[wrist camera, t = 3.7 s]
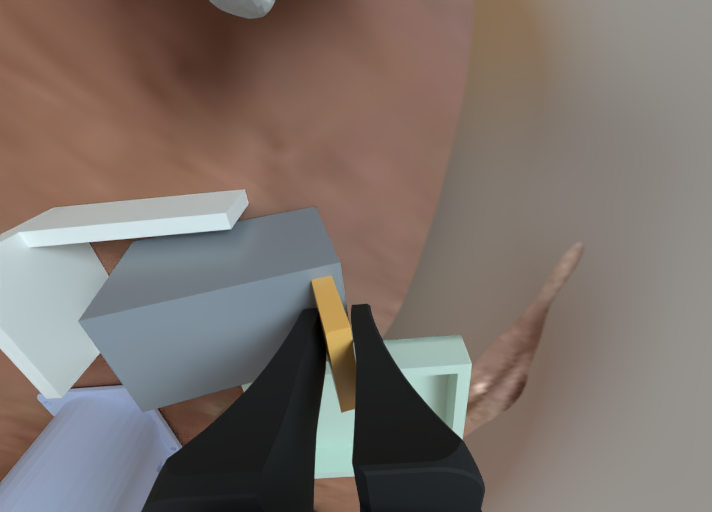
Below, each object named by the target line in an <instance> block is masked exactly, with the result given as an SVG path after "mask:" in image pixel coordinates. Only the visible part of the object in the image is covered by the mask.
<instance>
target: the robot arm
mask: <svg viewBox="0 0 712 512" xmlns="http://www.w3.org/2000/svg"><path fill="white" fill-rule="evenodd" d="M351 323H352V331H353V339H354V347H355V355H356V393H355V419H354V438H353V453H352V465H353V471H354V476H355V481H356V486H357V491H358V496H359V501H360V512H482V511H481V506H482V502H483V497H484V493H485V487H484V482H483V479H482V476H481V474H480V472H479V469H478V467H477V465H476V463H475V461H474V459H473V457H472V455H471V453H470V452H469V450H468V448H467V446H466V444H465V443H464V441H463V440H462V439H461V438H460V437H459V436H458V435H457V434H456V433H455V432H454V431H453V430H452V429H451V428H450V427H449V426H448V425H447V424H446V423H444V422H443V421H442V420H441V418H440V417H439V416H438V415H437V414H436V413H435V412H434V411H433V410H432V409H431V408H430V407H429V406H428V404H427V403H426V402H425V401H424V400H423V399H422V397H421V396H420V395H419V394H418V393H417V392H416V390H415V389H414V388H413V387H412V385H411V384H410V383H409V381H408V380H407V379H406V377H405V376H404V374H403V373H402V372H401V370H400V369H399V367H398V366H397V364H396V363H395V361H394V359H393V358H392V356H391V354H390V353H389V351H388V349H387V347H386V346H385V344H384V342H383V340H382V338H381V336H380V334H379V332H378V329H377V327H376V325H375V322H374V319H373V316H372V313H371V308H370V305H368V304H359V305H352V308H351ZM325 372H326V346H325V341H324V337H323V332H322V327H321V322H320V317H319V312H318V308H310V309H304V310H303V311H302V312H301V314H300V315H299V317H298V319H297V321H296V323H295V324H294V326H293V328H292V329H291V331H290V333H289V334H288V336H287V337H286V339H285V340H284V342H283V343H282V345H281V346H280V348H279V349H278V351H277V352H276V354H275V355H274V356H273V358H272V359H271V360H270V362H269V363H268V364H267V366H266V367H265V368H264V370H263V371H262V372H261V373H260V375H259V376H258V377H257V378H256V379H255V381H254V382H253V383H252V384H251V385H250V386H249V387H248V389H247V390H246V391H245V392H244V393H243V394H242V395H241V396H240V397H239V398H238V399H237V400H236V401H235V402H234V403H233V404H232V405H231V406H230V407H229V408H228V409H227V410H226V411H225V412H224V413H223V414H222V415H221V416H219V417H218V418H217V419H216V420H215V421H214V422H213V423H212V424H211V425H209V426H208V427H207V428H206V429H205V430H204V431H202V432H201V433H200V434H199V435H198V436H196V437H195V438H194V439H192V440H191V441H190V442H188V443H187V444H186V445H185V446H183V447H182V445H181V444H180V442H179V441H178V439H177V438H176V436H175V435H174V433H173V432H172V430H171V429H170V427H169V426H168V424H167V423H166V421H165V420H164V418H163V416H162V415H161V413H160V412H159V410H158V409H153V410H150V411H146V412H142V411H141V410H140V408H139V407H138V405H137V404H136V403H135V401H134V400H133V398H132V397H131V395H130V394H129V393H128V391H127V390H126V388H125V387H124V386H123V385H116V386H102V387H88V388H75V389H69V390H68V391H67V393H66V394H65V395H64V396H63V397H62V398H52V399H46V398H45V397H44V396H43V394H42V393H41V392H40V393H39V394H38V395H37V399H38V400H39V401H40V402H41V403H42V404H43V405H44V406H45V408H46V409H47V410H48V411H49V412H50V413H51V414H52V415H53V416H54V418H53V419H52V420H51V421H50V423H49V424H48V425H47V426H46V428H45V429H44V430H43V431H42V432H41V434H40V435H39V436H38V437H37V438H36V440H35V441H34V442H33V443H32V445H31V446H30V447H29V448H28V449H27V451H26V452H25V453H24V454H23V455H22V457H21V458H20V459H19V460H18V461H17V463H16V464H15V465H14V466H13V468H12V469H11V470H10V471H9V472H8V474H7V475H6V476H5V477H4V478H3V480H2V481H1V482H0V512H313V504H314V477H315V455H316V437H317V427H318V419H319V412H320V406H321V399H322V392H323V386H324V379H325Z"/></svg>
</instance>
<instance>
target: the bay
mask: <svg viewBox="0 0 712 512" xmlns="http://www.w3.org/2000/svg"><path fill="white" fill-rule="evenodd" d="M248 204H249V202H248V199H247V195H246V192H245V189H242V190H232V191H221V192H211V193H200V194H190V195H180V196H169V197H159V198H148V199H138V200H127V201H117V202H107V203H96V204H86V205H75V206H65V207H55V208H52V209H50V210H48V211H46V212H44V213H42V214H40V215H38V216H36V217H34V218H32V219H30V220H28V221H26V222H24V223H22V224H20V225H18V226H16V227H14V228H12V229H10V230H8V231H6V232H4V233H2V234H0V349H1V350H2V351H3V352H4V353H5V354H6V355H7V356H8V357H9V358H10V359H11V361H12V362H13V363H14V364H15V365H16V366H17V367H18V368H19V369H20V370H21V371H22V373H23V374H24V375H25V376H26V377H27V378H28V379H29V380H30V381H31V382H32V384H33V385H34V386H35V387H36V388H37V389H38V390H39V391H40V392H41V393H42V394H43V396H44V397H45V398H46V399H52V398H62V397H63V396H64V395H65V394H66V393H67V391H68V390H69V389H70V388H71V387H72V386H73V384H74V383H75V382H76V381H77V380H78V379H79V377H80V376H81V375H82V374H83V373H84V371H85V370H86V369H87V368H88V367H89V366H90V364H91V363H92V362H93V361H94V360H95V358H96V357H97V356H98V355H99V354H100V352H99V350H98V349H97V347H96V346H95V345H94V343H93V342H92V340H91V339H90V338H89V336H88V335H87V333H86V332H85V331H84V329H83V328H82V326H81V325H80V323H79V322H78V320H79V319H80V317H81V316H82V315H83V313H84V312H85V310H86V309H87V307H88V306H89V305H90V303H91V302H92V300H93V299H94V297H95V296H96V294H97V293H98V292H99V290H100V289H101V287H102V286H103V284H104V283H105V281H106V280H107V279H108V277H109V276H108V274H107V272H106V271H105V269H104V267H103V266H102V264H101V262H100V260H99V259H98V257H97V255H96V254H95V252H94V250H93V248H92V247H91V245H90V243H89V242H96V241H107V240H118V239H129V238H140V237H151V236H162V235H173V234H184V233H195V232H206V231H217V230H228V229H232V227H233V226H234V224H235V223H236V221H237V220H238V219H239V217H240V216H241V214H242V213H243V211H244V210H245V209H246V207H247V206H248Z"/></svg>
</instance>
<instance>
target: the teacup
mask: <svg viewBox="0 0 712 512" xmlns="http://www.w3.org/2000/svg"><path fill="white" fill-rule="evenodd" d="M209 1H210V2H211V3H212V4H213V5H215V6H216V7H217V8H219V9H220V10H222V11H225V12H227V13H230V14H232V15H236V16H240V17H244V18H247V19H253V18H260V17H264V16H265V15H266V14H267V13H268V12H269V11H270V10H271V8H272V6H273V5H274V2H275V0H209Z"/></svg>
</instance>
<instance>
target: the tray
mask: <svg viewBox="0 0 712 512" xmlns="http://www.w3.org/2000/svg"><path fill="white" fill-rule="evenodd" d="M383 342H384V344H385V346H386V347H387V349H388V351H389V353H390V354H391V356H392V358H393V359H394V361H395V363H396V364H397V366H398V367H399V369H400V370H401V372H402V373H403V374H404V376H405V377H406V379H407V380H408V381H409V383H410V384H411V385H412V387H413V388H414V389H415V390H416V392H417V393H418V394H419V395H420V396H421V397H422V399H423V400H424V401H425V402H426V403H427V404H428V406H429V407H430V408H431V409H432V410H433V411H434V412H435V413H436V414H437V415H438V416H439V417H440V418H441V420H442V421H443V422H444V423H446V424H447V425H448V426H449V427H450V428H451V429H452V430H453V431H454V432H455V433H456V434H457V435H458V436H459V437H460V438H461V439H463V432H464V424H465V416H466V408H467V400H468V392H469V384H470V376H471V368H472V363H471V360H470V358H469V355H468V352H467V350H466V347H465V345H464V342H463V340H462V337H461V335H448V336H435V337H422V338H408V339H395V340H383ZM353 347H354V343H353ZM354 353H355V347H354ZM355 360H356V355H355ZM252 383H253V382H251V383H248V384H244V385H241V386H242V389H243V391H244V392H245V391H246V390H247V389H248V387H249V386H250V385H251V384H252ZM354 419H355V409H353V410H349V411H346V412H343V413H341V410H340V406H339V402H338V398H337V394H336V390H335V386H334V382H333V378H332V374H331V370H330V366H329V362H326V372H325V379H324V386H323V392H322V399H321V406H320V412H319V419H318V427H317V437H316V455H315V477H314V479H315V478H332V477H349V476H354V471H353V465H352V453H353V438H354Z"/></svg>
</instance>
